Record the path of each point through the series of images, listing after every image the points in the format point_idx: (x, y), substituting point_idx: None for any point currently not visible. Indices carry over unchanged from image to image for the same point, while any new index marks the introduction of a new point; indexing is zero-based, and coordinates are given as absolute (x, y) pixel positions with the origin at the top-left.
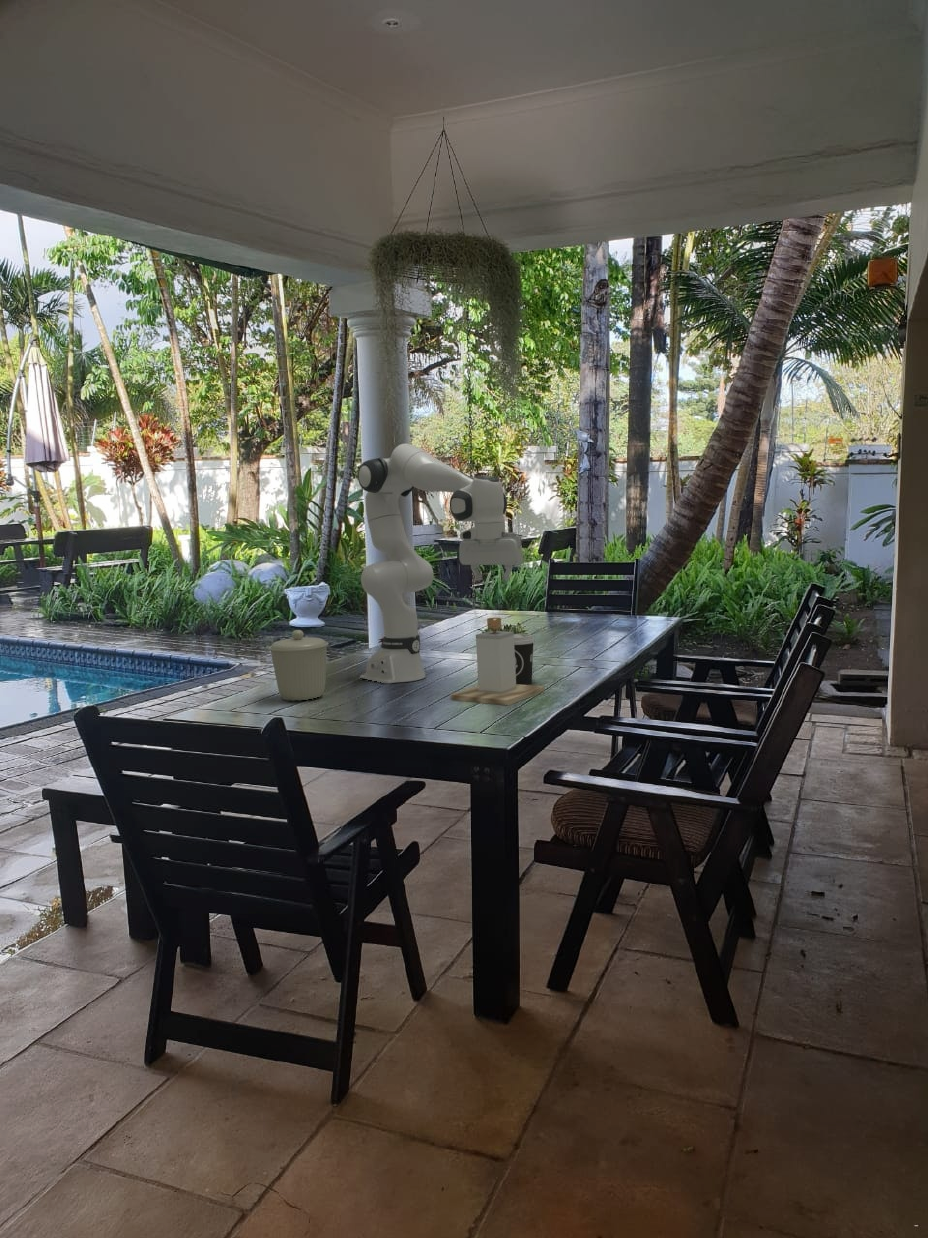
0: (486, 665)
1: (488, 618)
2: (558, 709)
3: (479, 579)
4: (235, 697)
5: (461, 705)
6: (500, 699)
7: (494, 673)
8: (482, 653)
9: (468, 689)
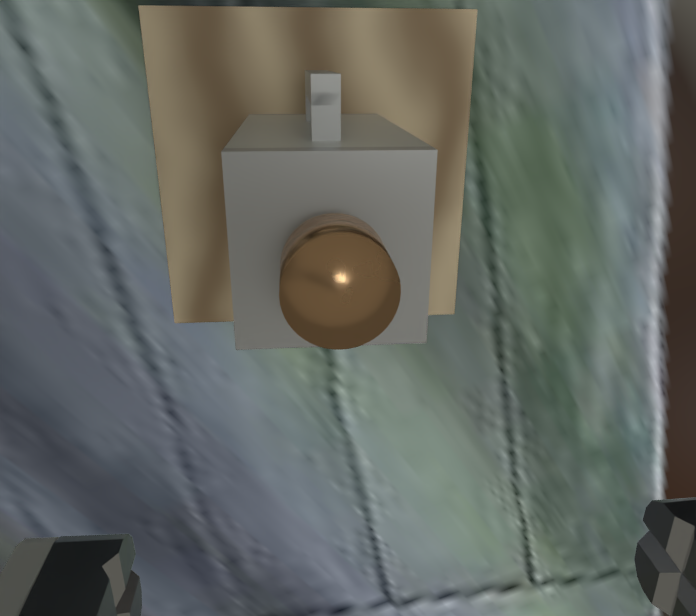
0: None
1: (290, 307)
2: (647, 285)
3: (137, 608)
4: None
5: (282, 369)
6: None
7: None
8: None
9: (174, 207)
